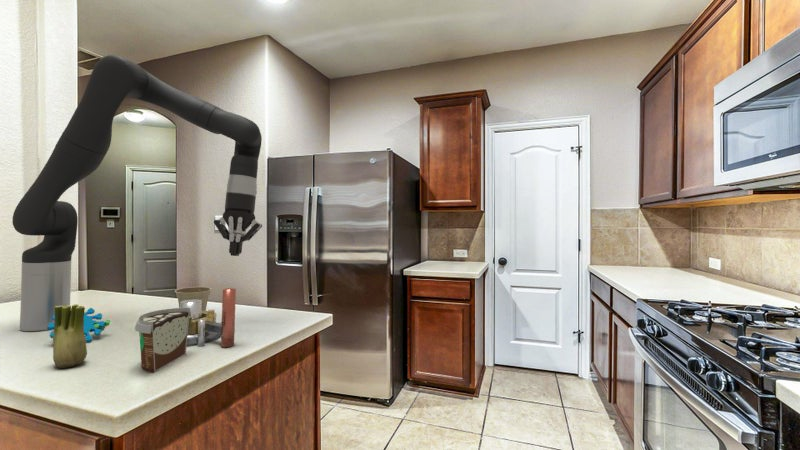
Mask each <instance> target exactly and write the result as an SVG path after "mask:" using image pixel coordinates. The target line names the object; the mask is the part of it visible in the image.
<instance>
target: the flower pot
mask: <svg viewBox="0 0 800 450" xmlns="http://www.w3.org/2000/svg"><path fill="white" fill-rule="evenodd" d="M211 291H212V288H211V287H207V286H188V287H181V288H177V289H175V290H174V293H175V294H176V298H177V302H178V308H180V302H181V301H184V300H191V299H198V300H202V309H201V311H207V307H208V300H209V296H210V294H211Z"/></svg>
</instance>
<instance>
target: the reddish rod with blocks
mask: <svg viewBox="0 0 800 450" xmlns="http://www.w3.org/2000/svg"><path fill="white" fill-rule="evenodd" d="M236 291H237V289H236V288H234V287H228V288H227V287H226V288H222V298H221V300H222V302H221V323H220V322H217V313H216V312H215V311H216V309H208V310H206V311H201V318H200V319H205V332H207V331H212V332H216V333H221V336H220V347H222V348H230V347H233V346H234V345H235V331H236V329H235V327H236V302H237V301H236V299H237V298H236V295H237V294H236V293H237V292H236ZM200 319H196V320H192V315H191V317H189V325H188V335H195V334H198V320H200Z"/></svg>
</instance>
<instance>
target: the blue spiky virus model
mask: <svg viewBox="0 0 800 450" xmlns="http://www.w3.org/2000/svg"><path fill="white" fill-rule="evenodd" d="M95 311H96V310H95V309H94V308H92V307H90V308H88V309H87V310H86V311H84V334H85V339H86V343H88V342H91V341H93V336H92V335H91V334H90V332H91V333H92V332H93V335H94V336H95V337H97V336H99V335H101V334H102V332H103V331H104V330H105V329H106V327H108V326H110V324H111V320H110V319H106V320H105V321H104V320H102V318H103V314H102V313H96V314H95V315H93V314H94V313H95ZM52 320H53V321H55V315H54V316H53V317H52ZM96 320H98V321H96ZM99 320H100V321H99ZM101 320H102V321H101ZM54 324H55V323H52V322H51V323H49V325H48V327H47V329H48V330H52V331H50V333H49V337H50V338H51V339H53V336H54Z"/></svg>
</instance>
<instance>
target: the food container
mask: <svg viewBox="0 0 800 450" xmlns="http://www.w3.org/2000/svg"><path fill="white" fill-rule="evenodd" d="M189 317H191V311H190V308H179V307H174V308H165V309H164V308H163V309H159V310H153V311H150V312H146V313H143V314H142V315H140V316H138V319H137V320H136V323H135V327H134V331H136V332H138V333H139V335H138V336H139V346H140V347H139V348H140V350H139V351H140V361H141V362H140V363H141V370H142V371H143V372H144V371H145V372H147V373H154V374H155V373H156V372H158V371H160V370H162V369H163V368H165V367H167V366H168V365H170V364H172V363H174V362H175V360H176V361H177V360H179V359H181V358H182V357H184V356H186V355H187V347H188V346H187V336H188V325H189Z"/></svg>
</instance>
